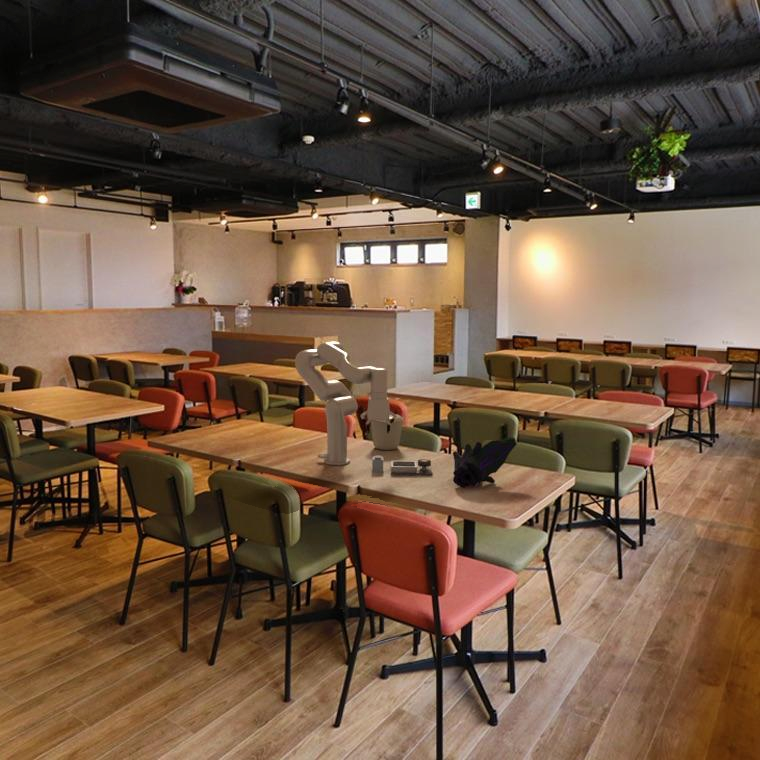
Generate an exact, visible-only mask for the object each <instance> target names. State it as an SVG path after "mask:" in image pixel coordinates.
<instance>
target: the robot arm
mask: <svg viewBox="0 0 760 760" xmlns="http://www.w3.org/2000/svg"><path fill="white" fill-rule="evenodd" d="M350 360H351V355H349V353H347V352H346V351H345V348H344V345H343V344H342V343H340V342H338V341H325V342H322V343H320V344H319V345H318V346H317V348H313V349H304V350H301V351H299V352H298V353H296V356H295V359H294V366H295V370H296V372H297V374H299V376H300V377H301V379H303V380H304V382H305V383H306V384H307V386H308V387H310V389H311V390H312V392H313V393H314V394H315V396H316V397H317V398H318V399H319V400H320V401H321V402H326V404H325V407H324V410H325V416H326V424H327V425H326V427H327V429H326V430H327V431H326V432H327V435H326V436H327V439H326V444H327V446H326V447H327V448H326V449H327V450H326V452H324V453H318V454H317V458H320V459H323V463H324V464H326V465H330V466H344V465H348V464H350V463H351V459H350V458H348V457H347V455H348V424H347V421H346V418H345V417H348V416H351V415H354V414H355V413H356V412H357V410H358V401H357V400H356V398H355V397H354V396H353V394H352V393H351V391H350V390H349V389H348V387H346V386H345V384H344V383H343V382H341V381H339V380H335V379H334V380H333V379H331V380H327V378H326V377H325V376H324V375H323V374H322V372H320V371H319V370H318V369H317V368H315V367H319V366H321V367H322V366H324V365H327V364H330V366H333V367H334V368H336V369H338V372H339V374H340V375H341V376H342V378H344V379H345V380H347V381H349V382H351V383H353V384H355V385H361V384H369V383H370V391H369V392H367V396H369V398H368V401H367V410H366V411H364V412H363V413H361V414H360V418H361V420H362V421H363V422H364V424H366V432H367V434H370V433H371V432H370V431H371V430H370V429H371V427H370V426H371V424H370V423H371V420H386V422H387V423H388V424H387V433H389V431H390V425H391V423H392V422H393V421H394V420H395V419H396V417H397V415H398V414H397V415H395V413H394V412H392V411H391V410H390V399H389V397H388V370H387V369H386V368H384V367H375V366H370V365H369V366H360V367H357V366H355V365H353V364H351V363H350ZM366 415H367V418H366V417H365V416H366ZM390 415H392V416H393V418H392V419H391V420H389V418H390Z"/></svg>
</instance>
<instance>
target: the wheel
mask: <svg viewBox="0 0 760 760" xmlns="http://www.w3.org/2000/svg"><path fill="white" fill-rule="evenodd" d="M417 466H422V467H428V466H431V467H432V460H431V459H426V458H424V459H418V460H417Z"/></svg>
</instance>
